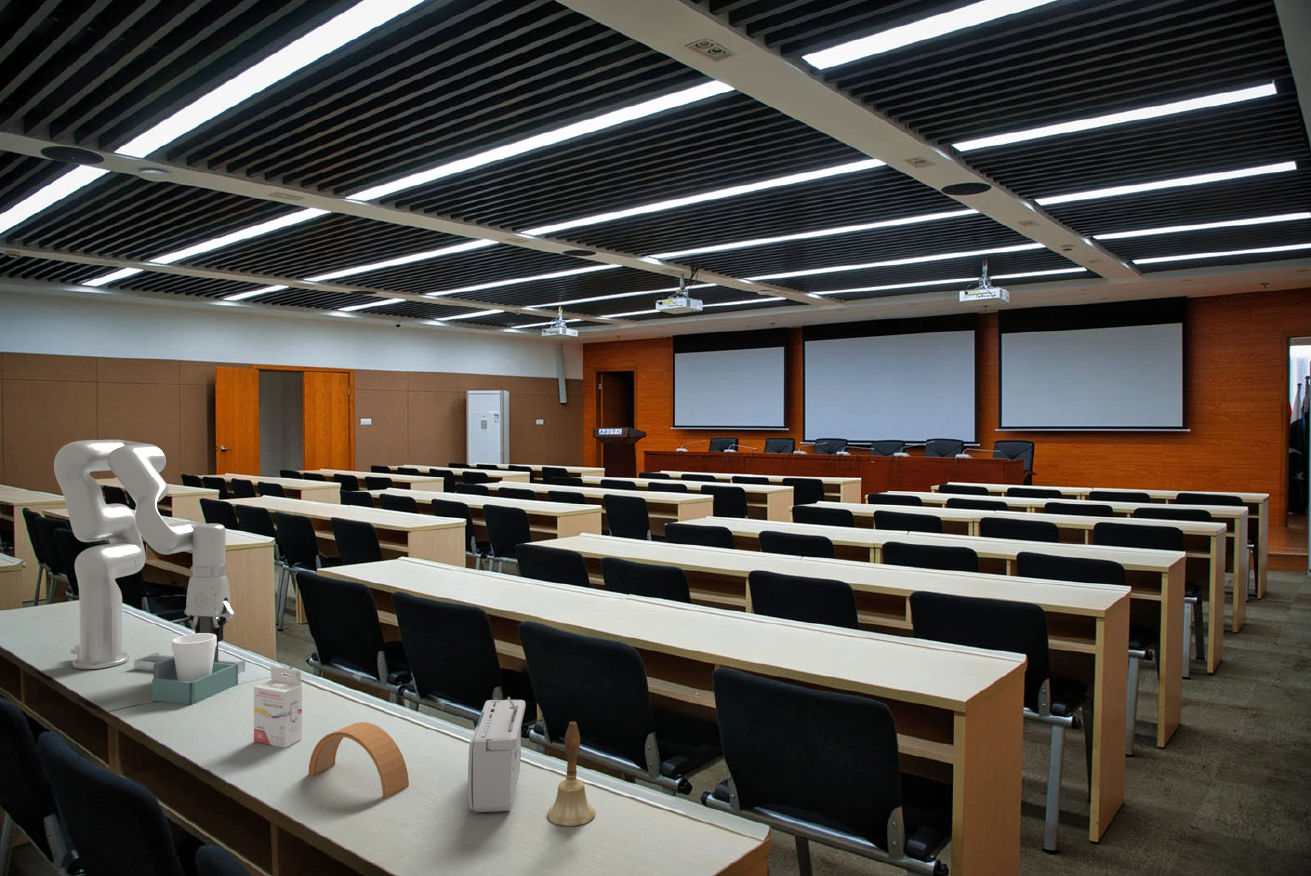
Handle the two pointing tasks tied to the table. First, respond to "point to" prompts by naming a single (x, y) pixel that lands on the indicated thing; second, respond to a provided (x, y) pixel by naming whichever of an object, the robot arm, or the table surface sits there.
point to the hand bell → (571, 789)
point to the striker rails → (148, 661)
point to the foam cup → (194, 655)
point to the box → (196, 685)
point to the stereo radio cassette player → (495, 756)
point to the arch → (376, 746)
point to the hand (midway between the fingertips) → (209, 640)
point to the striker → (167, 666)
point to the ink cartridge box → (278, 709)
